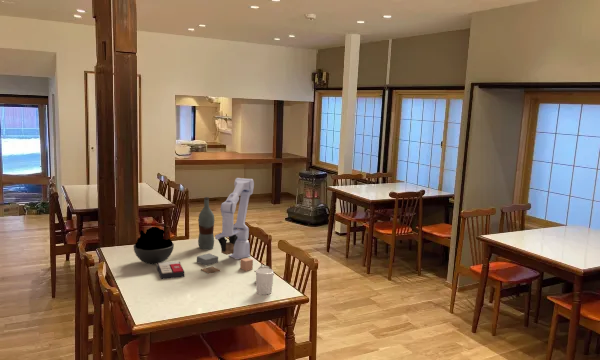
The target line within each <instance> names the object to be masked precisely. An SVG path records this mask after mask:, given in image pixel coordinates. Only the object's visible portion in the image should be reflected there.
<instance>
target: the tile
mask: <svg viewBox="0 0 600 360" xmlns="http://www.w3.org/2000/svg"><path fill="white" fill-rule="evenodd" d="M200 271H201V272H204V273H206V274H213V273H218V272H220V271H221V269H219V268H217V267H215V266H213V265H212V266H208V267H204V268H203V267H202V268H200Z"/></svg>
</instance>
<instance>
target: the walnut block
mask: <svg viewBox="0 0 600 360" xmlns="http://www.w3.org/2000/svg"><path fill="white" fill-rule="evenodd" d="M220 249H221V248H220ZM220 251H221V254H224V255H226V256H229V255H231V254H233V253H234V244H232V243H230V242H229V241H227V242H226V250H225V252H223V251H222V249H221V250H220Z"/></svg>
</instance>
